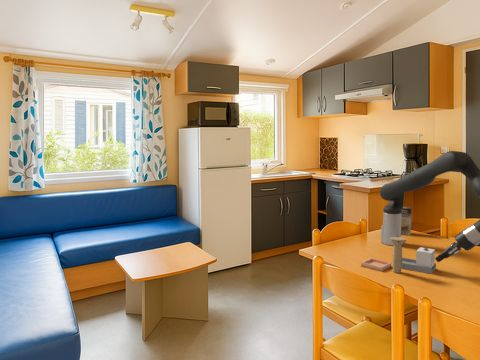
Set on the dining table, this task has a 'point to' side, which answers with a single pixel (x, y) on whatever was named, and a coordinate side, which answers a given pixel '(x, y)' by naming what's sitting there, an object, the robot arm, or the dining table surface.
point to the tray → (376, 264)
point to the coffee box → (406, 220)
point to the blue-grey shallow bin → (416, 266)
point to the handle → (397, 253)
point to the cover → (425, 257)
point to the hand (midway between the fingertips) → (436, 260)
